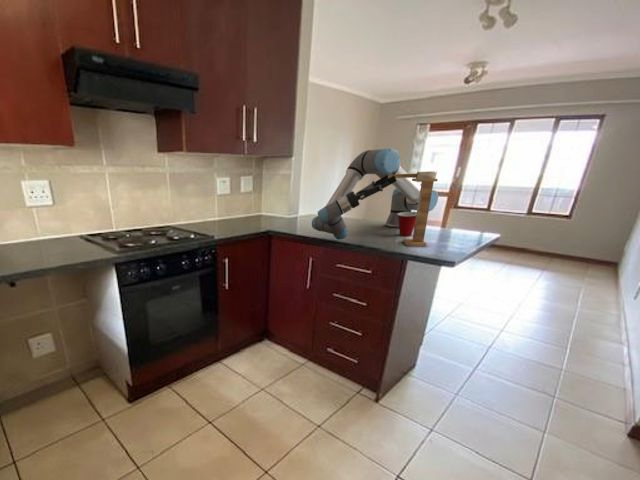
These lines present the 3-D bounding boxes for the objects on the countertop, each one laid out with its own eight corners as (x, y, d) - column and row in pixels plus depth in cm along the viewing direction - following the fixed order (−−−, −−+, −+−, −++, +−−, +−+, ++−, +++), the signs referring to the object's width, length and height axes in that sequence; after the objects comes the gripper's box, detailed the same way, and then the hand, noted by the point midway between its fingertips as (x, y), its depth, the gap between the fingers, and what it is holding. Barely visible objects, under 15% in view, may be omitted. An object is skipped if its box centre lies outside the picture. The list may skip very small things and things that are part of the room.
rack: (402, 241, 168) (412, 178, 157) (419, 241, 166) (430, 178, 155) (407, 246, 159) (417, 179, 148) (426, 246, 157) (437, 178, 146)
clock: (386, 179, 158) (387, 172, 157) (432, 178, 154) (433, 171, 153) (389, 180, 151) (390, 173, 150) (438, 178, 147) (439, 171, 146)
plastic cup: (389, 234, 185) (392, 212, 181) (403, 232, 189) (407, 211, 185) (406, 238, 176) (409, 214, 171) (420, 235, 180) (424, 212, 176)
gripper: (347, 197, 150) (394, 170, 142) (343, 193, 172) (383, 169, 165) (354, 212, 151) (401, 186, 144) (349, 205, 174) (390, 183, 166)
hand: (392, 177), depth 154 cm, fingers open, 13 cm apart
